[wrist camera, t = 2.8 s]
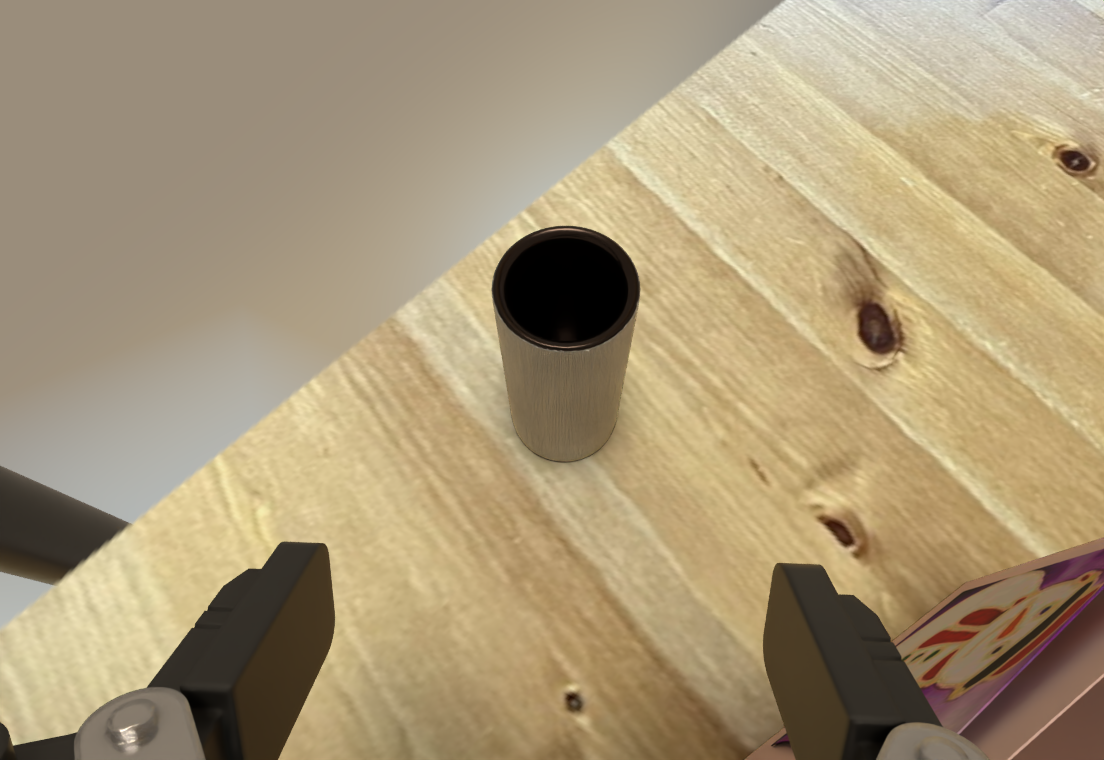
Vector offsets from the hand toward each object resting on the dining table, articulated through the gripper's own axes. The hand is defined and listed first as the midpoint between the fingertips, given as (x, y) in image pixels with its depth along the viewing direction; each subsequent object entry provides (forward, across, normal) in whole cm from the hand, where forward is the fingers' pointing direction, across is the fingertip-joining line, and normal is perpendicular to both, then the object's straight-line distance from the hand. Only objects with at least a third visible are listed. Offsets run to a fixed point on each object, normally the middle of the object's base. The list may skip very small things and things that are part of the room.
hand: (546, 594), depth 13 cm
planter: (+18, 0, +4) cm, 19 cm away
